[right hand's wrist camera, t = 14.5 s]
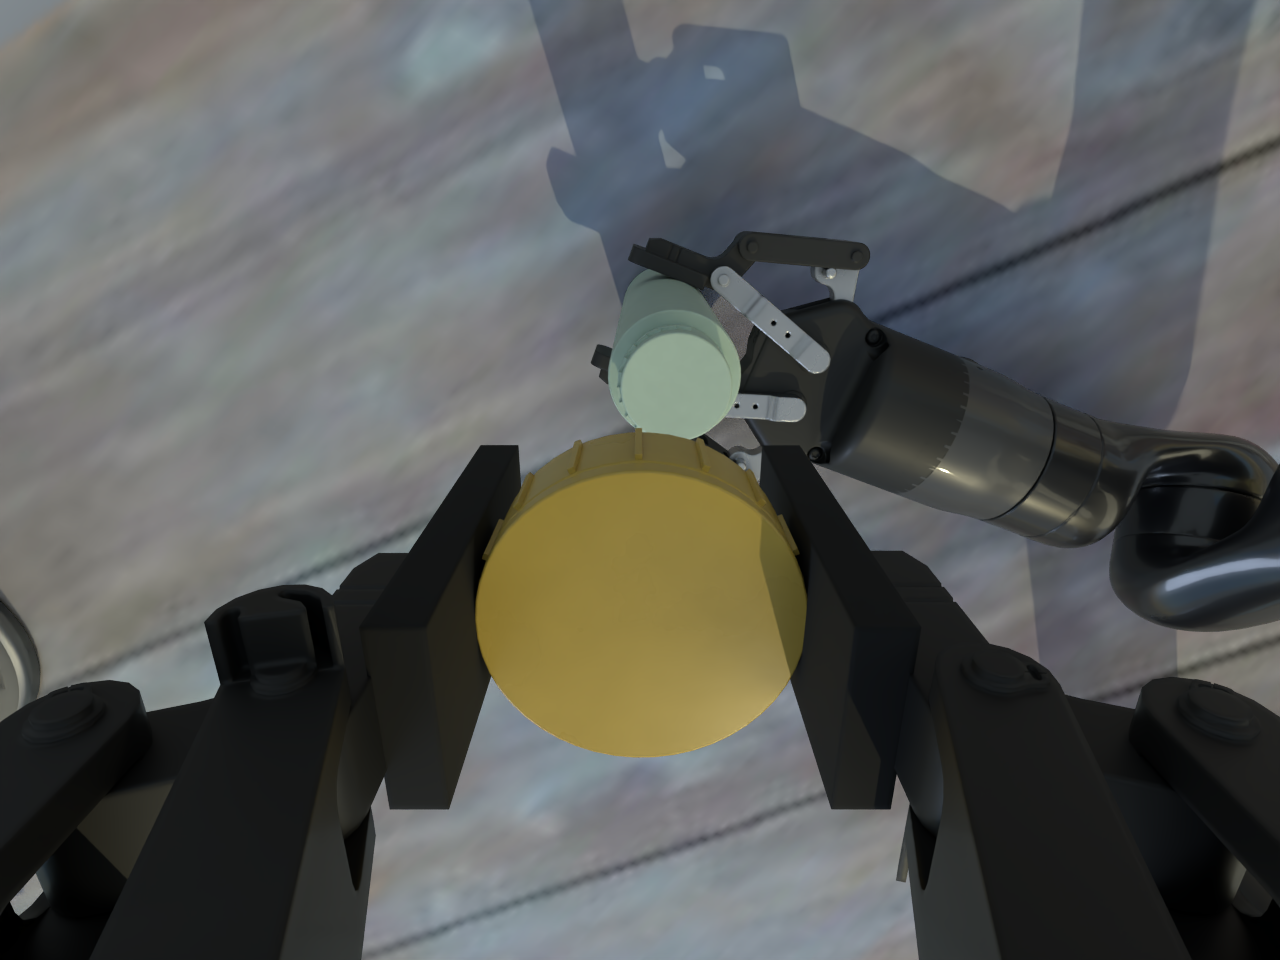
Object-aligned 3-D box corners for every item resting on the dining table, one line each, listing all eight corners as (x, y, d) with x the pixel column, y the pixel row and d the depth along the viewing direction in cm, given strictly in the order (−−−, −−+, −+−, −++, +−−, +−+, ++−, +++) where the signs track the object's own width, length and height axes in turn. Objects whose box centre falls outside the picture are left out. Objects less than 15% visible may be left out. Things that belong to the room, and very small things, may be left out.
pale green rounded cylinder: (654, 249, 39) (663, 285, 21) (717, 298, 40) (777, 374, 22) (607, 314, 41) (577, 402, 22) (669, 360, 41) (688, 481, 23)
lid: (481, 666, 13) (457, 736, 11) (513, 403, 11) (488, 439, 9) (749, 706, 13) (765, 780, 11) (822, 456, 11) (853, 501, 10)
